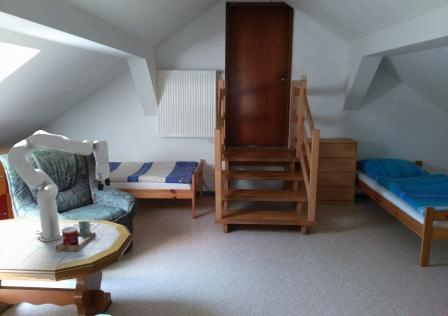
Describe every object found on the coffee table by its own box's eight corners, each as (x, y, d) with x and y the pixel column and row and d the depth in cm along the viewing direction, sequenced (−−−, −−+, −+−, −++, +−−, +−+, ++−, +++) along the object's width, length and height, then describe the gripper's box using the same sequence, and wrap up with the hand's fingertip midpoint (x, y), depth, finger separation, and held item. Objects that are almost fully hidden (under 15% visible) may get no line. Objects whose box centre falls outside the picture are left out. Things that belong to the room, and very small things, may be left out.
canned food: (66, 244, 202) (64, 226, 200) (80, 244, 203) (79, 226, 201) (61, 250, 195) (59, 232, 193) (76, 250, 196) (74, 231, 193)
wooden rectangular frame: (55, 250, 194) (53, 235, 192) (76, 233, 216) (75, 220, 215) (76, 251, 193) (75, 236, 191) (95, 234, 215) (94, 220, 213)
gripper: (102, 157, 220) (104, 183, 224) (89, 163, 203) (91, 192, 207) (114, 157, 219) (116, 184, 223) (101, 163, 202) (104, 192, 206)
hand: (104, 187), depth 215 cm, fingers open, 9 cm apart
